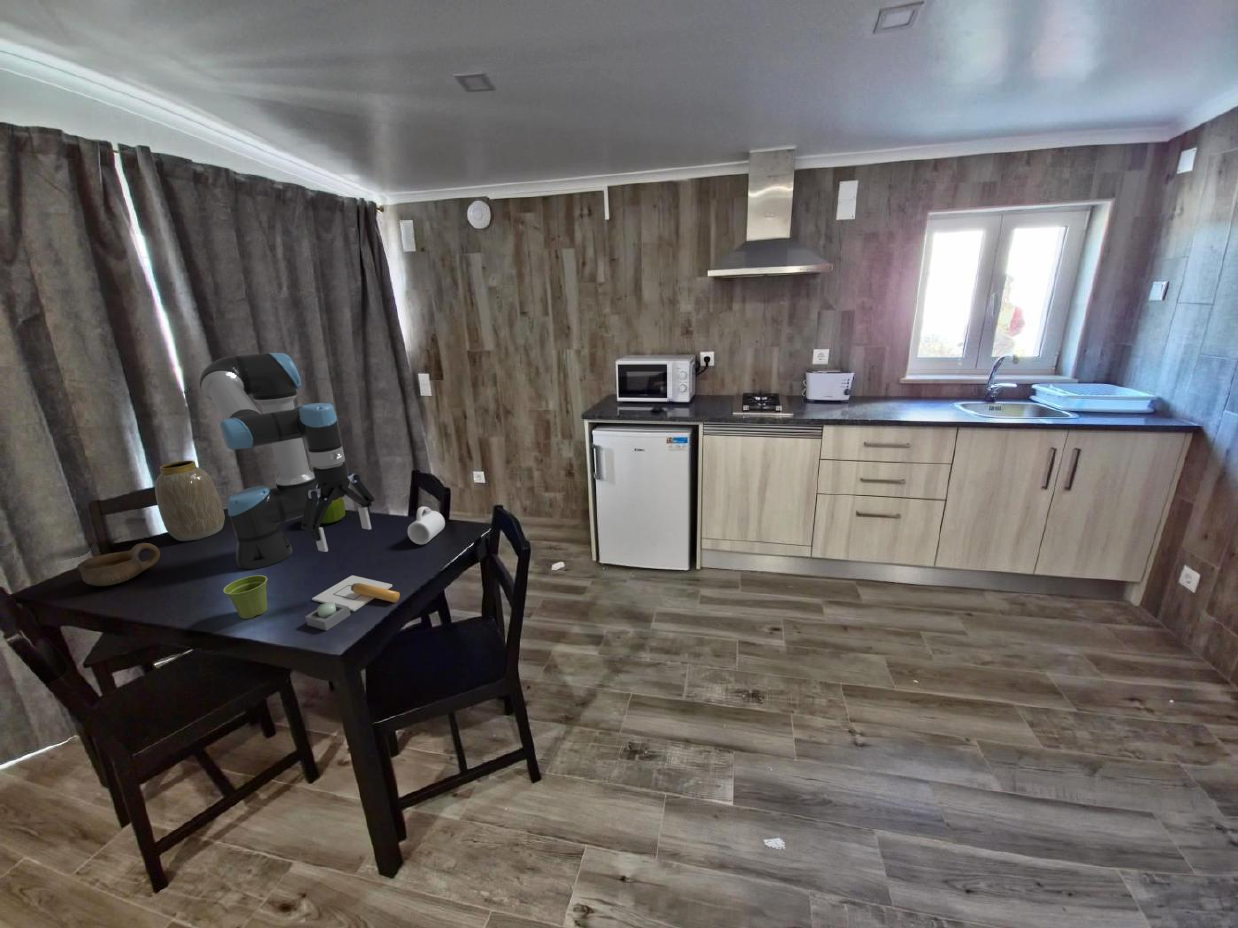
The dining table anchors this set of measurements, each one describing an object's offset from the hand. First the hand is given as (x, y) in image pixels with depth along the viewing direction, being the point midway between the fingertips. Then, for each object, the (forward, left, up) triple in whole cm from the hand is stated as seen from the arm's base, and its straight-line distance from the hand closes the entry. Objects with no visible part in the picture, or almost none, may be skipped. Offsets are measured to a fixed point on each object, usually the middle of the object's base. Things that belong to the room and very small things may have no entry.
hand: (346, 539), depth 134 cm
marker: (-1, 0, -15) cm, 15 cm away
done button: (+2, -11, -16) cm, 20 cm away
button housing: (+2, -11, -18) cm, 21 cm away
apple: (-56, +35, -18) cm, 68 cm away
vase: (-95, +11, -18) cm, 97 cm away
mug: (-8, +35, -18) cm, 40 cm away
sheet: (-3, 0, -18) cm, 18 cm away
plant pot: (-21, -16, -18) cm, 31 cm away
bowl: (-81, -17, -18) cm, 84 cm away
